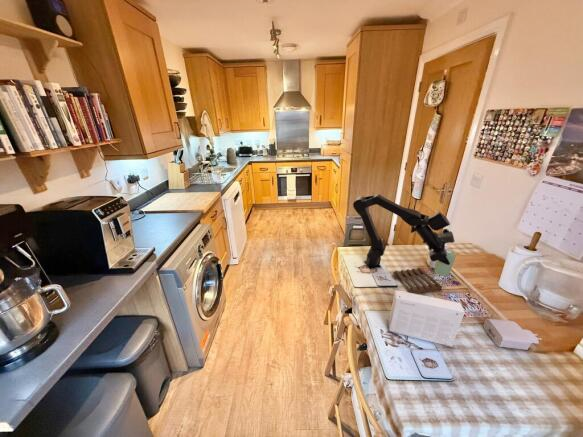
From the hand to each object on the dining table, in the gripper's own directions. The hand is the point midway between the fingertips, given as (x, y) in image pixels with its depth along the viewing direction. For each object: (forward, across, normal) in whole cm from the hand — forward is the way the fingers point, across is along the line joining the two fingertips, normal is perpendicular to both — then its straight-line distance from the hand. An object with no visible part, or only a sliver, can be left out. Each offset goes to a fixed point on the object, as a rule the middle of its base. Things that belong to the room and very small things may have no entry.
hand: (448, 261), depth 106 cm
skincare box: (+3, -36, +16) cm, 39 cm away
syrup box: (+7, +15, +11) cm, 20 cm away
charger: (+24, -23, -6) cm, 34 cm away
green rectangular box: (+4, 0, +6) cm, 7 cm away
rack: (+2, -5, +17) cm, 18 cm away
